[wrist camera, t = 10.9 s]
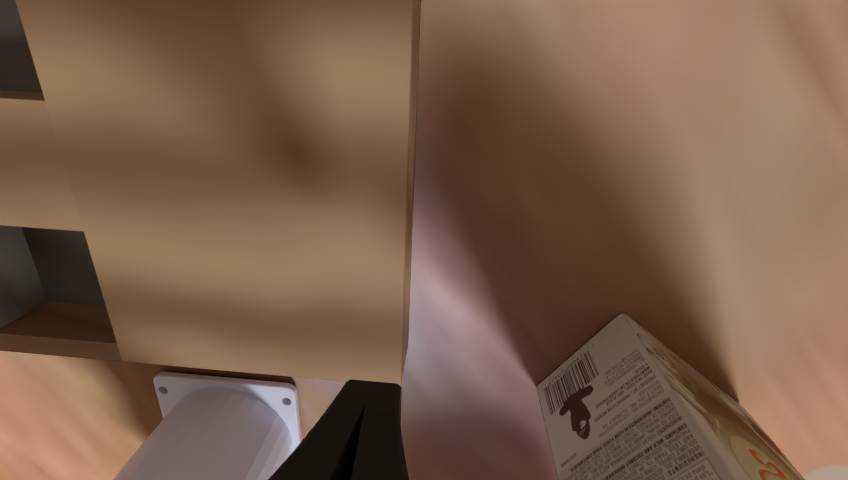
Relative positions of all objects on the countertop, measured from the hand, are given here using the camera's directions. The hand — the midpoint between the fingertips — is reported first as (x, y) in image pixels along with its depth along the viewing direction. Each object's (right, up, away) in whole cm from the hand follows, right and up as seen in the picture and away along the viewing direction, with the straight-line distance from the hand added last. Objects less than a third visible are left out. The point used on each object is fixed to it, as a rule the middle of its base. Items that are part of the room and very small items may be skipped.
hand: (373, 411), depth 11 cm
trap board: (-14, +8, +8) cm, 18 cm away
